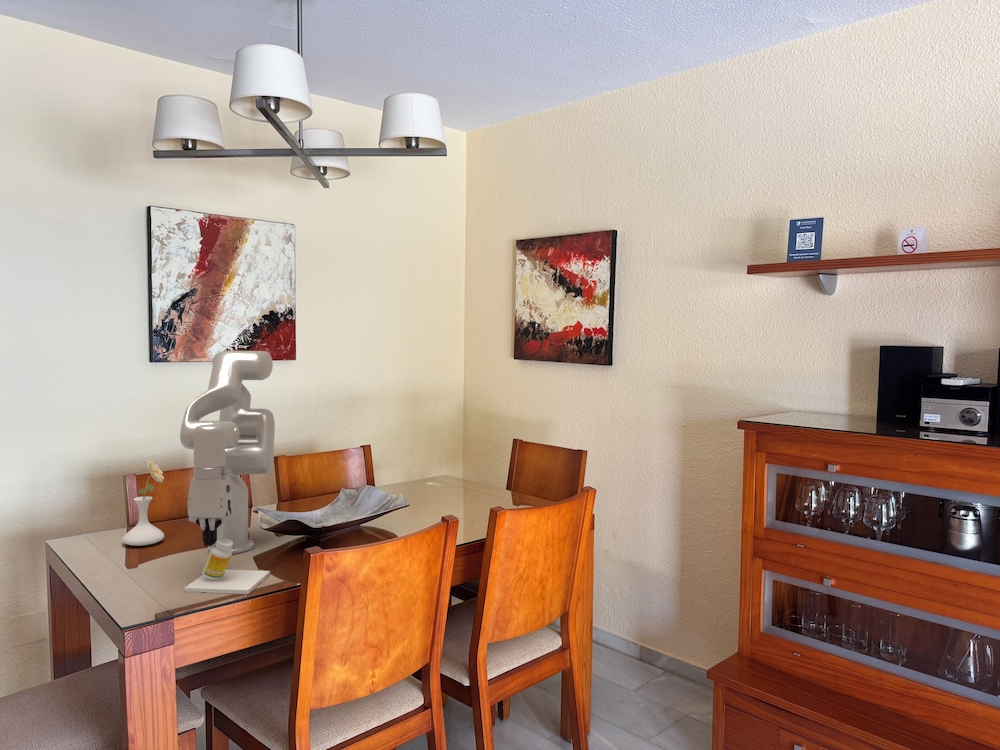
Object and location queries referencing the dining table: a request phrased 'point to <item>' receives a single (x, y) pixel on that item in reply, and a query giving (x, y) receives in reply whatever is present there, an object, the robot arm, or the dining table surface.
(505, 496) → the dining table surface
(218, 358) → the robot arm
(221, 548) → the supplement bottle
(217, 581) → the mat
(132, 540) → the flower in vase
